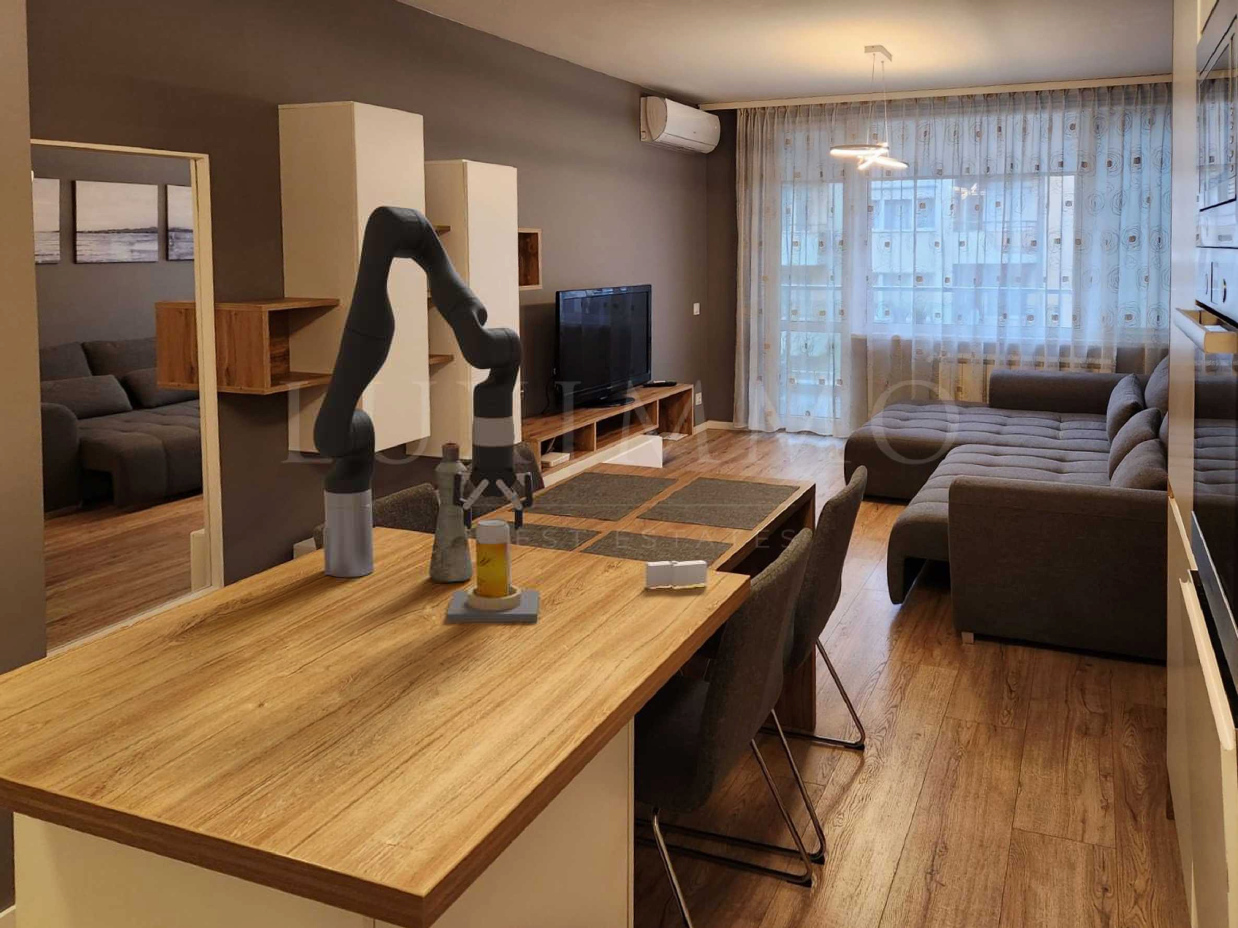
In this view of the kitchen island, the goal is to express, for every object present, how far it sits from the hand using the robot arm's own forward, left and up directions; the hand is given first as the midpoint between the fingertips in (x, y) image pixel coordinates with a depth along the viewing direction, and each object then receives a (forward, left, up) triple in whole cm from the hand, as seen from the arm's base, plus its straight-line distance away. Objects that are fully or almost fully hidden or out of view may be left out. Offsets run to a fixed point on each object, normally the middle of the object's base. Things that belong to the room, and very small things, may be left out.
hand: (493, 528), depth 201 cm
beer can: (0, 0, -14) cm, 14 cm away
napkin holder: (+34, +14, -16) cm, 41 cm away
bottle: (-10, +19, -16) cm, 27 cm away
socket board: (0, 0, -15) cm, 15 cm away
